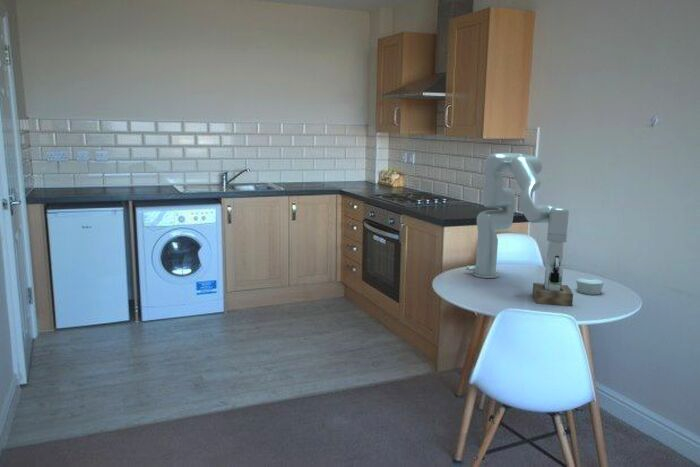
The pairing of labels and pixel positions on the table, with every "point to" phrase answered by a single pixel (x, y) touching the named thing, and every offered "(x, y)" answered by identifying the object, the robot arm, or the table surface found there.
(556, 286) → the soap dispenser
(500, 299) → the table surface
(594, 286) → the ramekin
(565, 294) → the socket block
